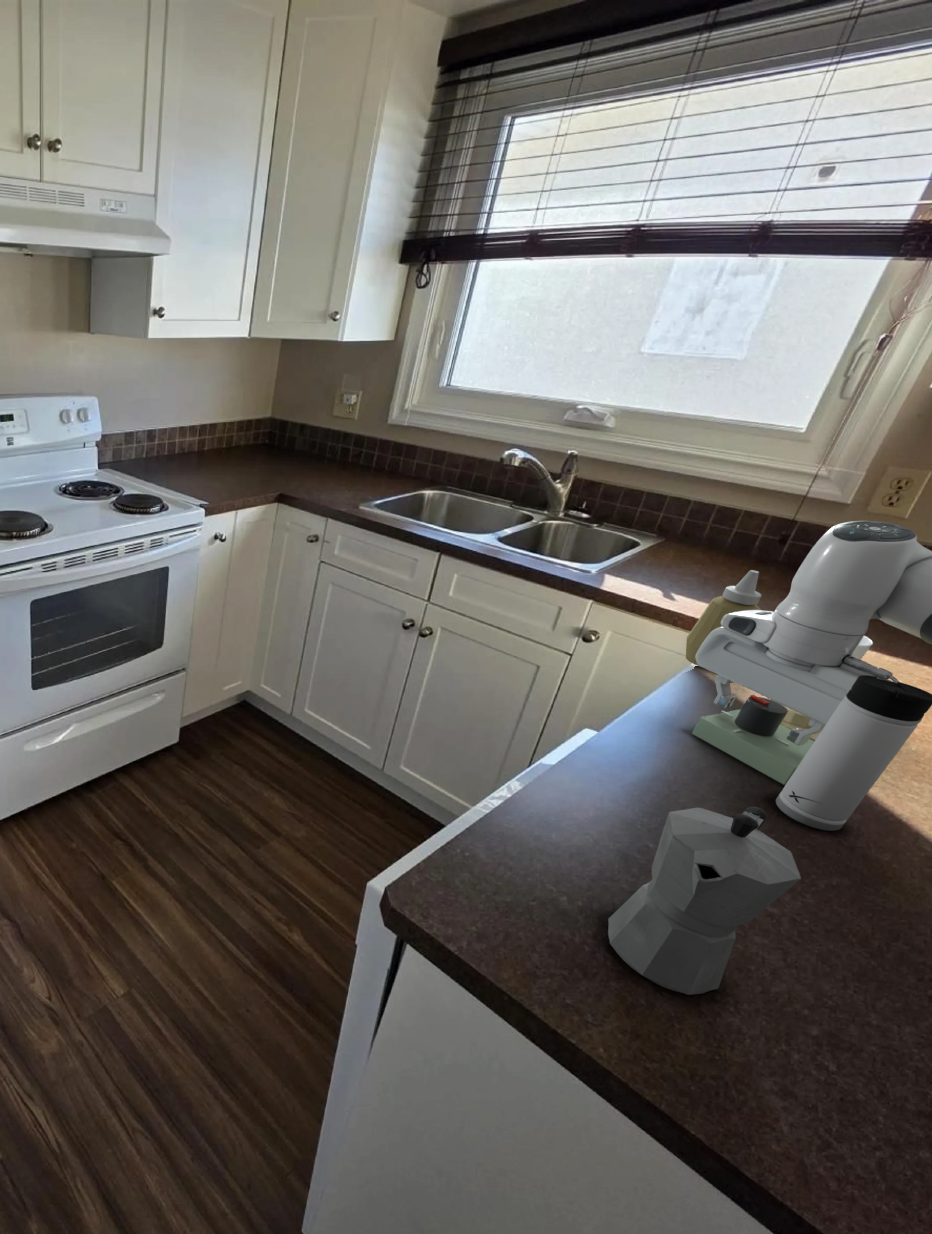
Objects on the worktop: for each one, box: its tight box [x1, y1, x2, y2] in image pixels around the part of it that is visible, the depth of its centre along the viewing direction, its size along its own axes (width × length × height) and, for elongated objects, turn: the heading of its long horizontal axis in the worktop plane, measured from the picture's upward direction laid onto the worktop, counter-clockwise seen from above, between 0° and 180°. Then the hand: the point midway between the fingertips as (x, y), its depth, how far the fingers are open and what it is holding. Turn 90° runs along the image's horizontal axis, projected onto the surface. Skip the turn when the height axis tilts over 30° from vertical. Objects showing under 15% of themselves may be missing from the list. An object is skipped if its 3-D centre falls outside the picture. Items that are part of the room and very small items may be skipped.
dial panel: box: [691, 708, 814, 786], centre depth 97 cm, size 12×10×3 cm
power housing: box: [769, 699, 821, 742], centre depth 102 cm, size 11×9×4 cm
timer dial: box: [734, 694, 788, 736], centre depth 97 cm, size 4×4×4 cm
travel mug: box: [775, 675, 932, 832], centre depth 82 cm, size 6×7×20 cm
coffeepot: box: [607, 806, 802, 996], centre depth 64 cm, size 15×9×18 cm, turn 125°
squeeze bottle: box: [685, 569, 762, 668], centre depth 117 cm, size 8×8×18 cm
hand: (757, 722), depth 98 cm, fingers open, 8 cm apart
